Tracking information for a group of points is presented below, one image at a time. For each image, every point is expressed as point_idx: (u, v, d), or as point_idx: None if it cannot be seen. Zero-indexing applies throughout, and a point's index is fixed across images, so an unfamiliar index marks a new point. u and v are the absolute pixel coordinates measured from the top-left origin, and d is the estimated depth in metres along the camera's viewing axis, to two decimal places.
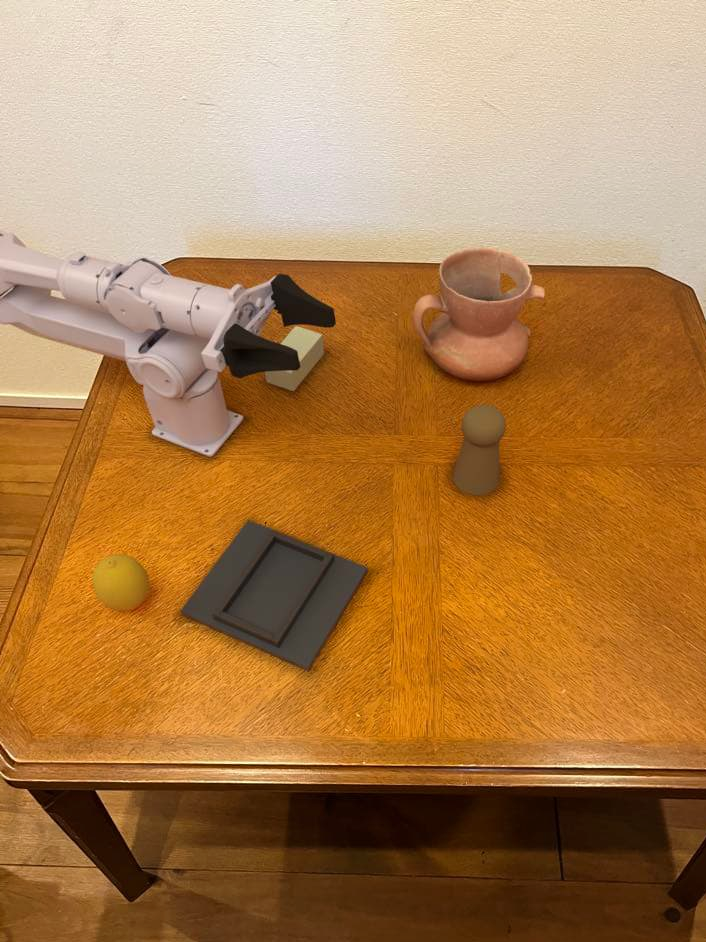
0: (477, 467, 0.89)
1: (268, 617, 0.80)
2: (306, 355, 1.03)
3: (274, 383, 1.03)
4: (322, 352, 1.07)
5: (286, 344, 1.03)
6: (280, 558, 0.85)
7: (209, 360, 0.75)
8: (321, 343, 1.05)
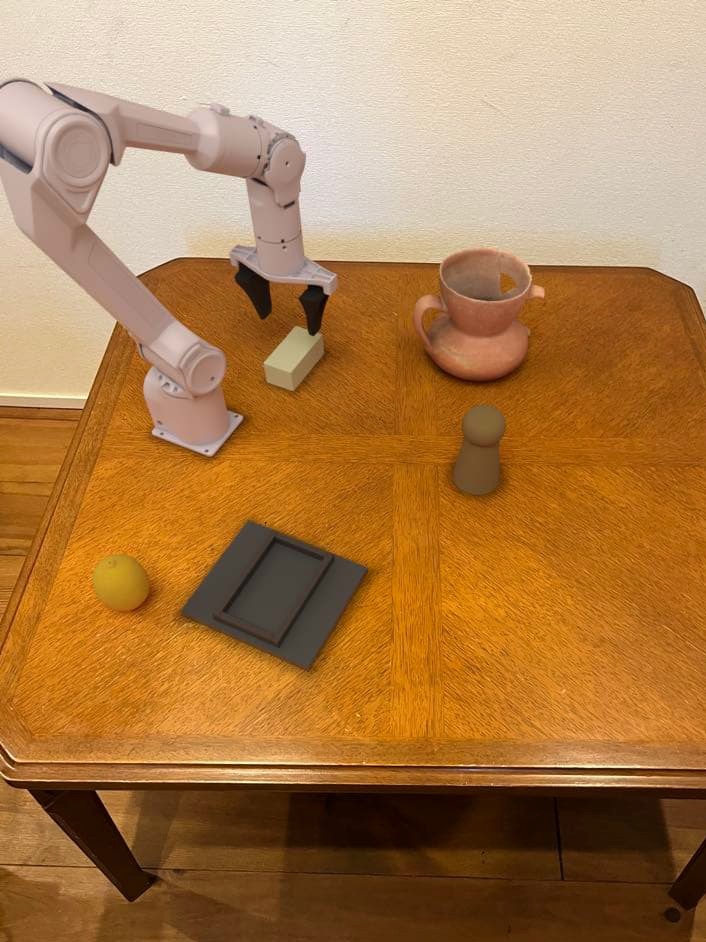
0: (477, 467, 0.89)
1: (268, 617, 0.80)
2: (306, 355, 1.03)
3: (274, 383, 1.03)
4: (322, 352, 1.07)
5: (286, 344, 1.03)
6: (280, 558, 0.85)
7: (335, 283, 0.91)
8: (321, 343, 1.05)
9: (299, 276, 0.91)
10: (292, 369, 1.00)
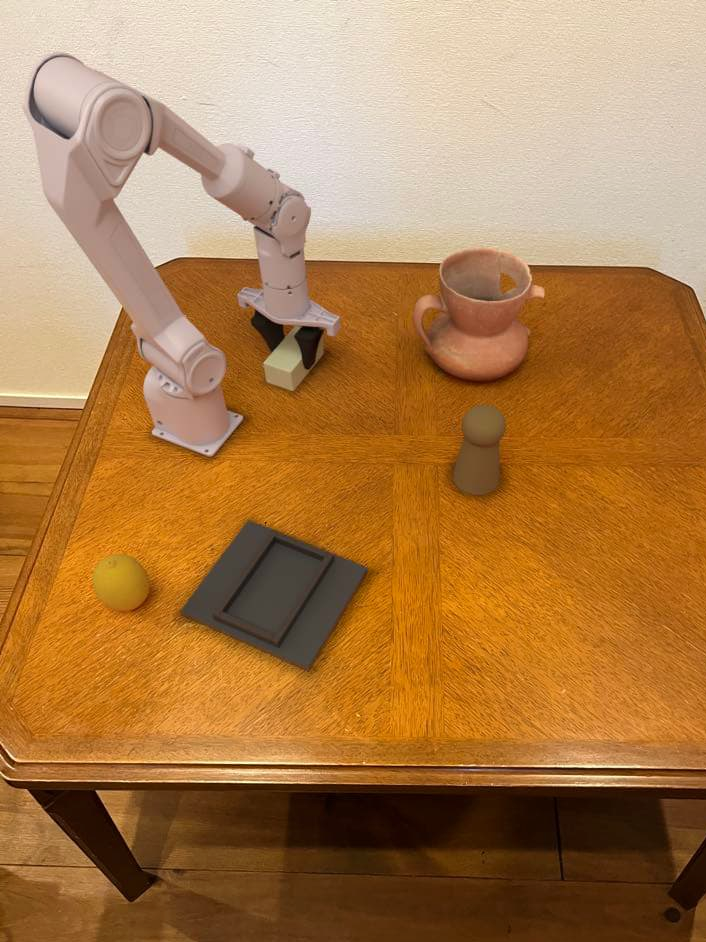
0: (477, 467, 0.89)
1: (268, 617, 0.80)
2: None
3: (274, 383, 1.03)
4: (322, 352, 1.07)
5: (286, 344, 1.03)
6: (280, 558, 0.85)
7: (337, 325, 0.96)
8: (321, 343, 1.06)
9: (304, 318, 0.96)
10: (292, 369, 1.00)
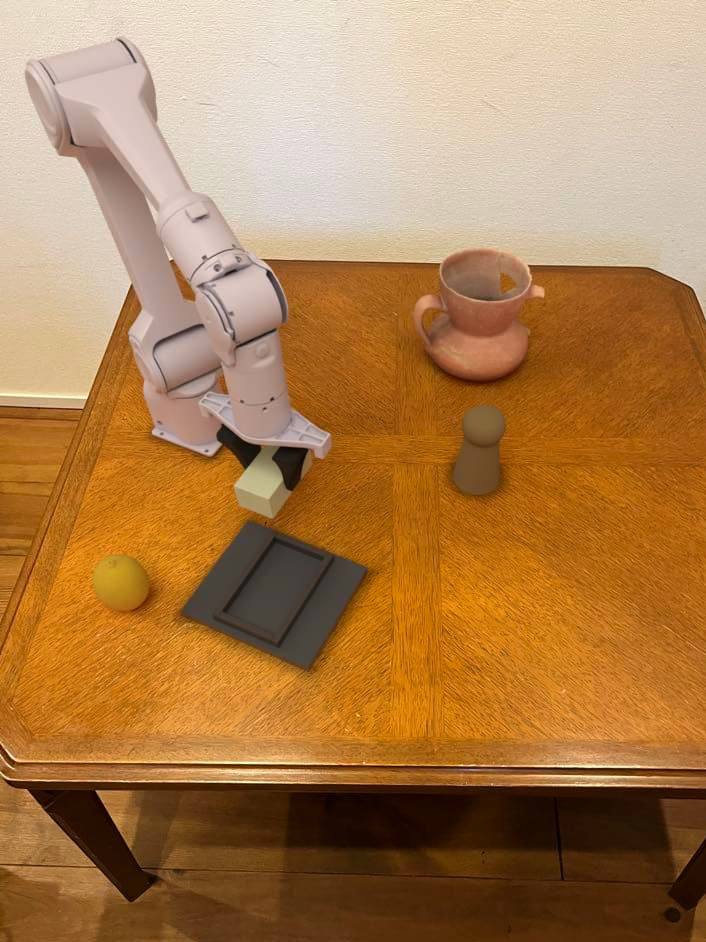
0: (477, 467, 0.89)
1: (268, 617, 0.80)
2: None
3: (248, 508, 0.81)
4: (310, 463, 0.85)
5: (263, 458, 0.81)
6: (280, 558, 0.85)
7: (328, 444, 0.74)
8: (308, 454, 0.83)
9: (284, 436, 0.74)
10: (270, 494, 0.78)
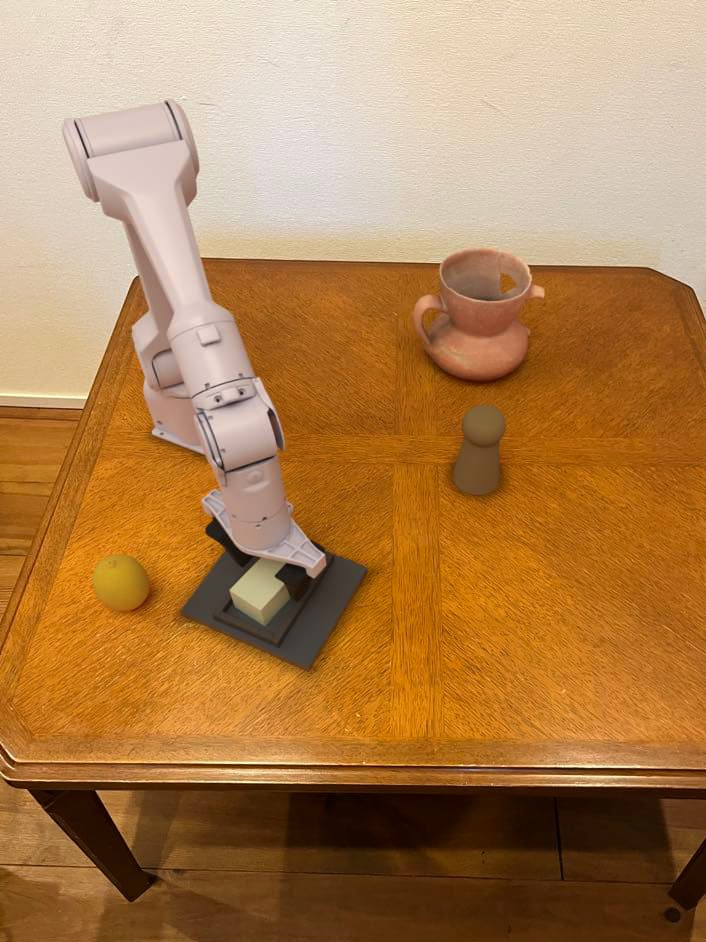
0: (477, 467, 0.89)
1: None
2: None
3: (243, 611, 0.80)
4: None
5: (265, 563, 0.80)
6: None
7: (321, 564, 0.72)
8: None
9: (278, 550, 0.72)
10: (263, 605, 0.77)
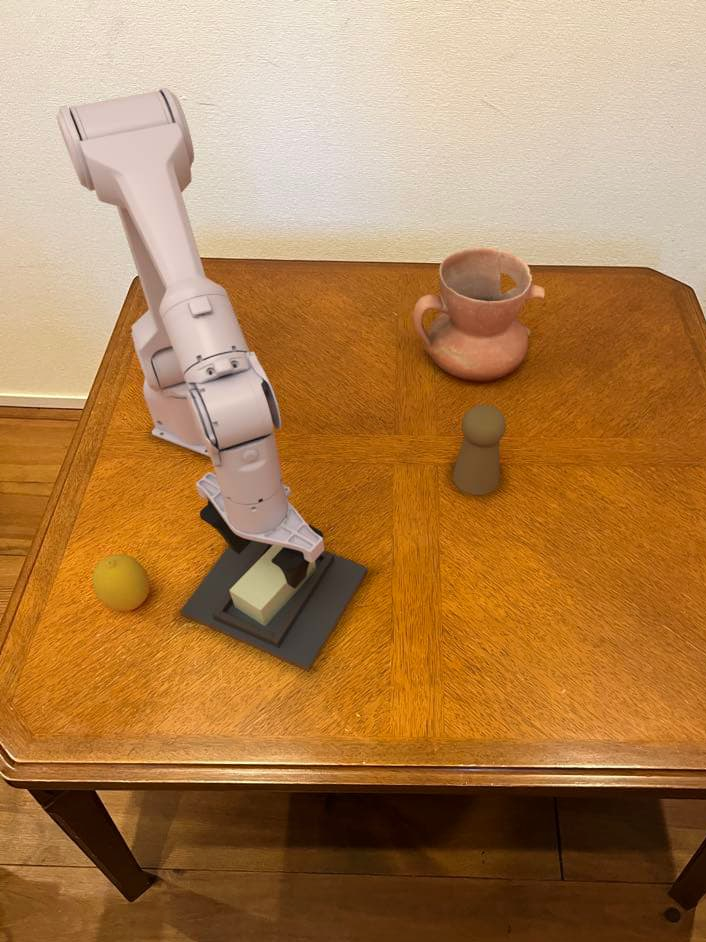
0: (477, 467, 0.89)
1: None
2: (287, 583, 0.79)
3: (243, 611, 0.80)
4: (313, 570, 0.84)
5: (265, 563, 0.80)
6: None
7: (319, 548, 0.70)
8: None
9: (275, 534, 0.70)
10: (263, 605, 0.77)
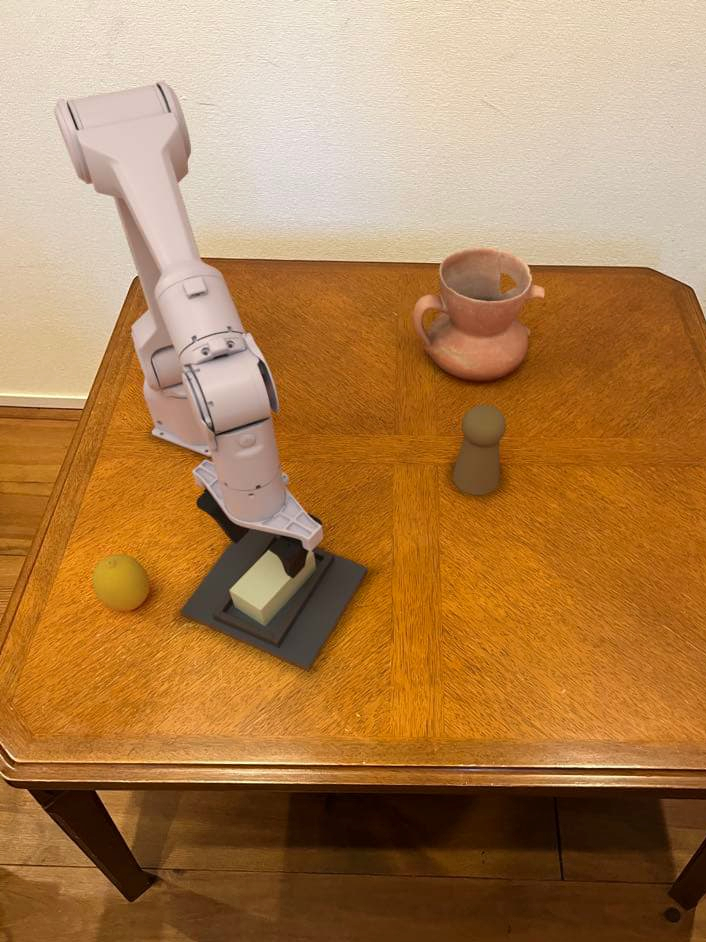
0: (477, 467, 0.89)
1: None
2: (287, 583, 0.79)
3: (243, 611, 0.80)
4: (313, 570, 0.84)
5: (265, 563, 0.80)
6: None
7: (318, 536, 0.68)
8: (311, 562, 0.82)
9: (273, 522, 0.69)
10: (263, 605, 0.77)
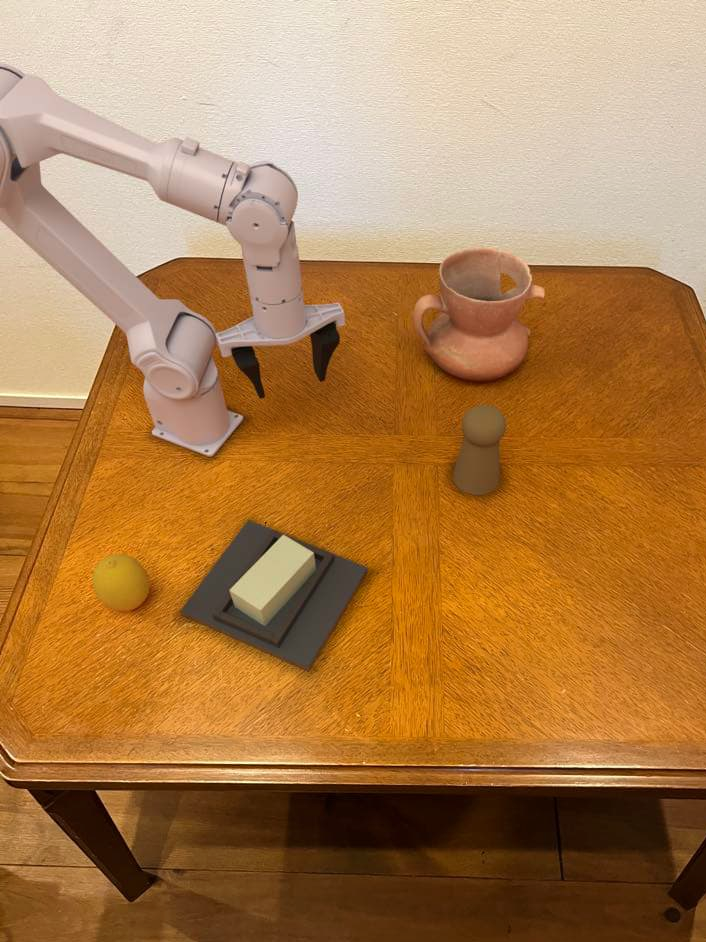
0: (477, 467, 0.89)
1: None
2: (287, 583, 0.79)
3: (243, 611, 0.80)
4: (313, 570, 0.84)
5: (265, 563, 0.80)
6: None
7: None
8: (311, 562, 0.82)
9: (309, 324, 0.83)
10: (263, 605, 0.77)
